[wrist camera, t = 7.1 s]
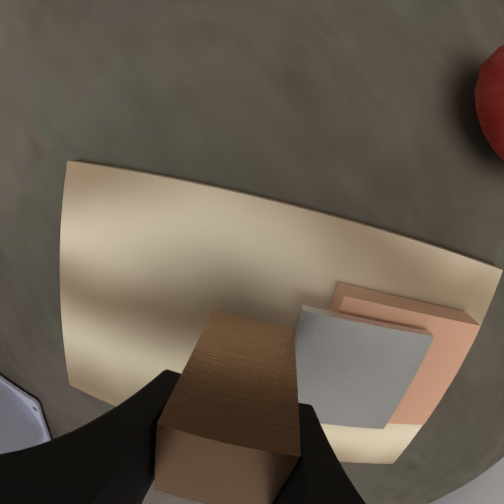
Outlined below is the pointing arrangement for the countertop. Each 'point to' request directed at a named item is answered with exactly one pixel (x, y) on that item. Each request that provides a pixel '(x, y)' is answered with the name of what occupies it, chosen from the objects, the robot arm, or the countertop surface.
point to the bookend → (275, 398)
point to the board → (225, 278)
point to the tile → (438, 355)
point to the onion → (492, 100)
